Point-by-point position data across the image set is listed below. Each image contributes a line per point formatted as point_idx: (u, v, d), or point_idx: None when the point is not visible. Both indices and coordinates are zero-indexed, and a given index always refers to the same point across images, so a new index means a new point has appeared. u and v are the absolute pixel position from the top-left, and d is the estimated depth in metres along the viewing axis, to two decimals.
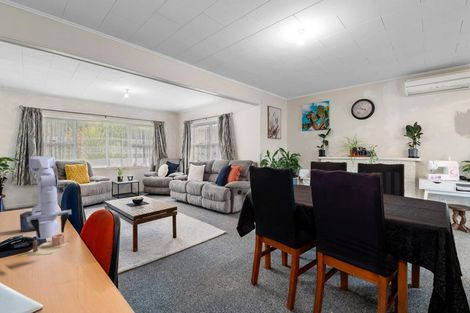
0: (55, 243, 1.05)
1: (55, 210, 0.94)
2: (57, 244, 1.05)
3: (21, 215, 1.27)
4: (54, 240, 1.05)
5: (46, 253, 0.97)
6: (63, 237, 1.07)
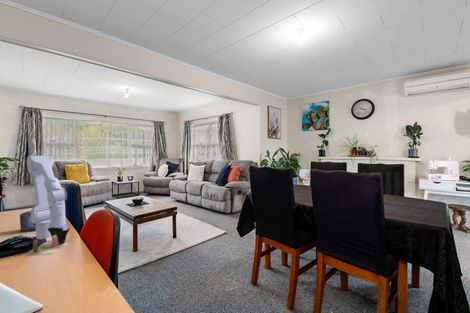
0: (55, 243, 1.05)
1: (54, 223, 1.04)
2: (57, 244, 1.05)
3: (21, 215, 1.27)
4: (54, 240, 1.05)
5: (46, 253, 0.97)
6: None
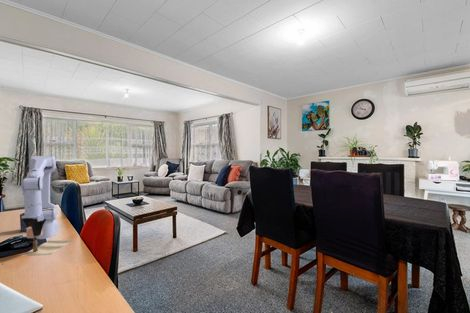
0: (30, 235, 0.97)
1: (28, 214, 0.96)
2: (32, 236, 0.97)
3: (21, 215, 1.27)
4: (29, 231, 0.97)
5: (46, 253, 0.97)
6: None
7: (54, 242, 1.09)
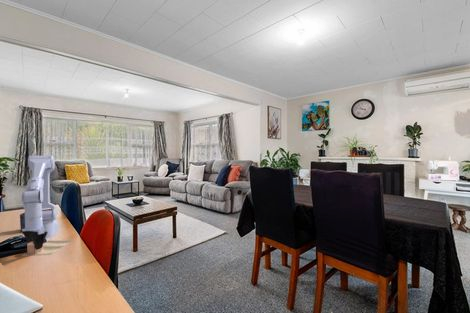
0: (30, 251, 0.97)
1: (29, 227, 0.96)
2: (33, 252, 0.97)
3: (21, 215, 1.27)
4: (30, 247, 0.97)
5: (46, 253, 0.97)
6: None
7: (54, 242, 1.09)
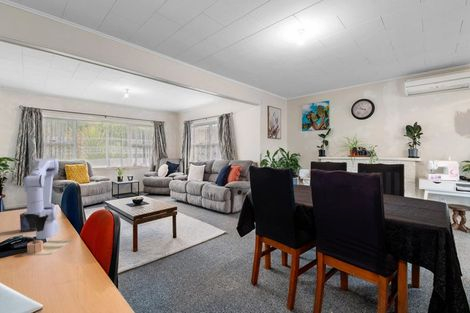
0: (30, 251, 0.97)
1: (31, 210, 1.01)
2: (33, 252, 0.97)
3: (21, 215, 1.27)
4: (30, 247, 0.97)
5: (46, 253, 0.97)
6: (40, 244, 0.99)
7: (54, 242, 1.09)
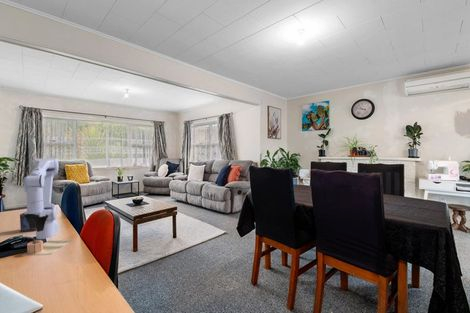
0: (30, 251, 0.97)
1: (31, 210, 1.01)
2: (33, 252, 0.97)
3: (21, 215, 1.27)
4: (30, 247, 0.97)
5: (46, 253, 0.97)
6: (40, 244, 0.99)
7: (54, 242, 1.09)
